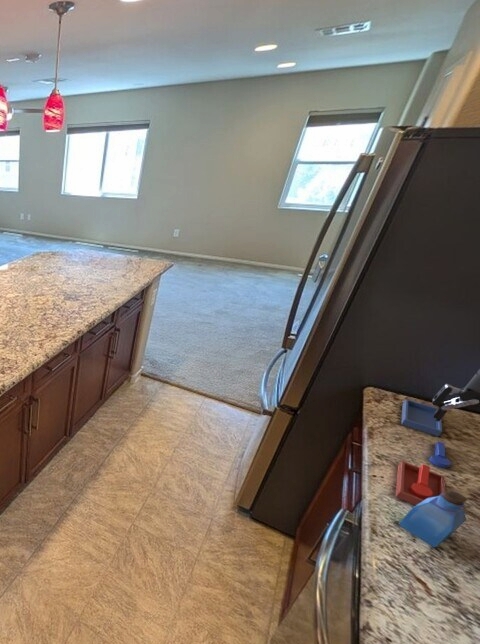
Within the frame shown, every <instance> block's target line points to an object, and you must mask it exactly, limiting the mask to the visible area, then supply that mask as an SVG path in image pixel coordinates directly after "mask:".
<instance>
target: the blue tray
mask: <svg viewBox="0 0 480 644" xmlns="http://www.w3.org/2000/svg"><path fill="white" fill-rule="evenodd" d="M437 409H438V407H435V406H431V405H428V404H425V403H421V402H417V401H414V400H411V399H407V398H406V399H404V401H403V402H402V407H401V410H402V411H401V420H400V421H401V424H400V425H402V426H405V427H408V428H411V429H414V430H417V431H420V432H422V433H425V434H429V435H432V436H435V437H439V436H440V435H441V434H442V433H443V423H442V421H443V420H442V419H441V420H440V421H439V422H438V421H435V418H434V416H433V414H434V412H435V411H436V410H437Z"/></svg>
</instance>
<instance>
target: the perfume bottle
mask: <svg viewBox="0 0 480 644" xmlns="http://www.w3.org/2000/svg"><path fill="white" fill-rule="evenodd" d="M467 501H468V500H467V498H466V496H464V495H463V494H461V493H459V492H458V491H455V490H451V489H445V492H444V493H441V494H440V495H439V496H436V497H430V498H427V499H425V500H424V501H422V502H421V503H419V504H418V505H414V506H413V507H412V508H411V509H410V510H409V511H408V512H407V514H406V515H404V517H403V518H402V519H401V521H400V522H399V523H398V524H397V526H400V527H401V528H403V529H404V530H405V531H407V532H409V533H410V534H411V535H413V536H415V537H416V538H418V539H420V540H421V541H422V542H424V543H426V544H428V545H429V546H431V547H432V548H436V547H438V546H439V545H440V544H442V543H443V542H445V541H446V540H447V539H448V538H450V537H451V536H452V535H453V534H454V533H455V532H456V531H457V530H458V529H459V528H460V527H461V526H462V525H463V523H465V522H466V521H467V518H466V514H465V510H464V509H463V507H464V506H465V503H466V502H467Z"/></svg>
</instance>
